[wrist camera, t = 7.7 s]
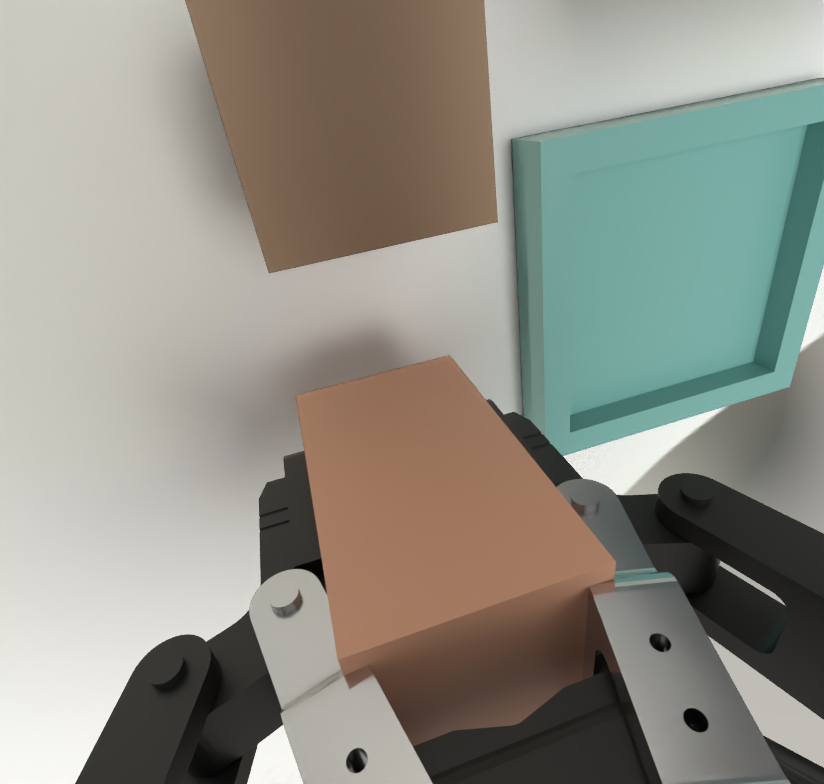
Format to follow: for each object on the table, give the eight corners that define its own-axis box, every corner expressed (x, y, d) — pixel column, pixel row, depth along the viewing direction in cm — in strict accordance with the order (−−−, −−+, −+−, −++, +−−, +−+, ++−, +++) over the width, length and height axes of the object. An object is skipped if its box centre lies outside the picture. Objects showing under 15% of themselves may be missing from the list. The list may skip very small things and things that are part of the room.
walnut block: (265, 207, 14) (269, 273, 8) (215, 35, 12) (170, -46, 6) (401, 179, 15) (498, 221, 9) (375, 10, 13) (478, -85, 7)
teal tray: (524, 435, 20) (545, 461, 19) (511, 139, 15) (540, 141, 13) (753, 368, 22) (789, 386, 21) (819, 77, 16) (876, 74, 15)
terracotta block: (332, 512, 14) (388, 792, 8) (295, 395, 12) (337, 660, 6) (462, 472, 15) (599, 707, 9) (449, 355, 13) (616, 561, 7)
